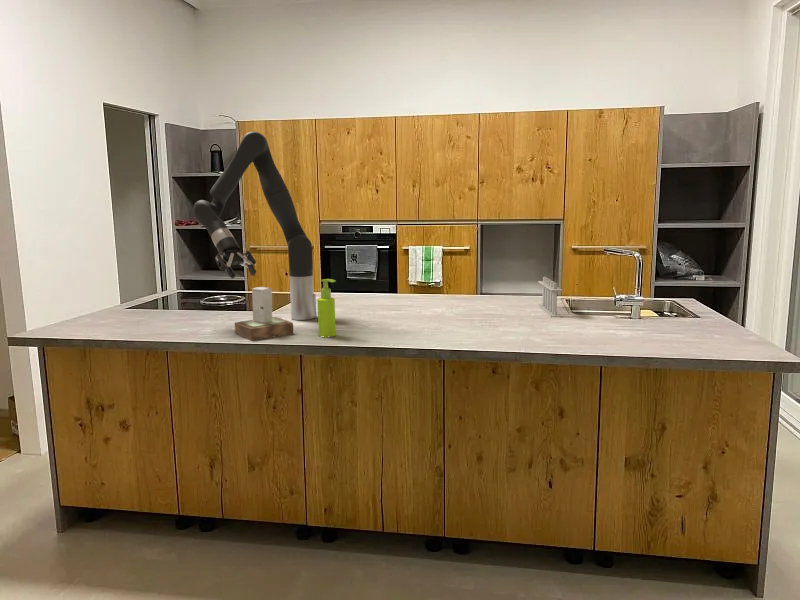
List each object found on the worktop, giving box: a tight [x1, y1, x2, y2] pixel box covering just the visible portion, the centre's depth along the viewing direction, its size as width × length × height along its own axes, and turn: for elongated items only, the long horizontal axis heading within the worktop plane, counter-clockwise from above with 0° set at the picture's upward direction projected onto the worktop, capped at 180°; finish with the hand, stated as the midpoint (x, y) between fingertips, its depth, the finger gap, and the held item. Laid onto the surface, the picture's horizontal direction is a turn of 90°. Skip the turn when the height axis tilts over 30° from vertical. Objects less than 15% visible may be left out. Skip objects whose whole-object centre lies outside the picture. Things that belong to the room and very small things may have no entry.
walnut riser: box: [234, 316, 294, 341], centre depth 220 cm, size 16×14×4 cm
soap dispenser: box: [317, 278, 337, 338], centre depth 214 cm, size 6×7×20 cm
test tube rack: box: [536, 276, 563, 319], centre depth 252 cm, size 25×4×13 cm, turn 179°
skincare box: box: [251, 286, 273, 323], centre depth 219 cm, size 6×4×12 cm
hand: (244, 275), depth 224 cm, fingers open, 8 cm apart
